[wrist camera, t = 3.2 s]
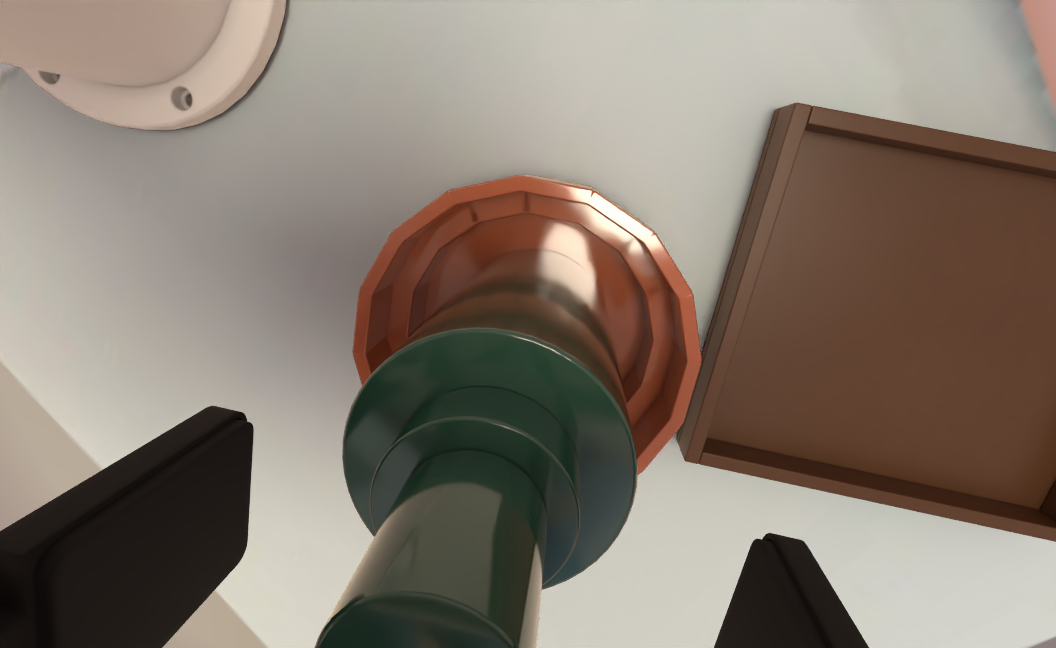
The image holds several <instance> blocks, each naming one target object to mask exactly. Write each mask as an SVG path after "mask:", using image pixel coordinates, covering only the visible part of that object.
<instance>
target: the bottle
mask: <svg viewBox="0 0 1056 648" xmlns="http://www.w3.org/2000/svg"><path fill="white" fill-rule="evenodd" d="M342 458H343V467H344V475H345V479H346V483H347V487H348V491H349V493H350V496H351V498H352V501H353V503H354V506H355V508H356V510H357V512H358V513H359V515H360V517H361V519H362V521H363V522H364V524H365V525H366V527H367V528H368V529H369V531H370V532H371V533H372V535H373V536H374V539H373V541H372V543H371V544H370V546H369V548H368V550H367V551H366V553H365V555H364V557H363V559H362V560H361V562H360V564H359V566H358V567H357V569H356V571H355V573H354V575H353V576H352V578H351V580H350V582H349V583H348V585H347V587H346V589H345V591H344V592H343V594H342V596H341V598H340V599H339V601H338V603H337V605H336V607H335V608H334V610H333V612H332V614H331V615H330V617H329V619H328V621H327V623H326V624H325V626H324V628H323V630H322V631H321V633H320V635H319V637H318V640H317V642H316V645H315V648H536V646H537V634H538V623H539V612H540V601H541V590H542V589H546V588H549V587H552V586H555V585H557V584H559V583H562V582H564V581H567V580H569V579H570V578H572V577H574V576H576V575H577V574H579V573H581V572H582V571H584V570H585V569H586V568H588V567H589V566H590V565H592V564H593V563H594V562H596V561H597V560H598V559H599V558H600V557H601V556H602V555H603V554H604V553H605V552H606V551H607V550H608V548H609V547H610V546H611V544H612V543H613V542H614V541H615V539H616V538H617V537H618V535H619V533H620V532H621V530H622V528H623V526H624V524H625V523H626V521H627V519H628V516H629V513H630V511H631V508H632V505H633V502H634V497H635V492H636V488H637V474H638V465H637V454H636V447H635V442H634V438H633V433H632V428H631V423H630V418H629V413H628V409H627V404H626V399H625V394H624V389H623V384H622V380H621V375H620V370H619V365H618V360H617V355H616V351H615V346H614V341H613V336H612V331H611V326H610V322H609V317H608V312H607V308H606V304H605V300H604V298H603V295H602V293H601V291H600V289H599V287H598V285H597V283H596V282H595V281H594V279H593V278H592V277H591V275H590V274H589V273H588V272H587V271H586V270H585V269H584V268H582V267H581V266H580V265H579V264H577V263H576V262H575V261H573V260H571V259H569V258H568V257H566V256H563V255H561V254H559V253H556V252H552V251H549V250H542V249H521V250H515V251H511V252H508V253H505V254H503V255H500V256H498V257H496V258H494V259H493V260H491V261H489V262H488V263H487V264H486V265H484V266H483V267H482V268H481V269H480V270H479V271H478V272H476V273H475V274H474V275H473V276H472V277H471V278H470V279H469V280H468V281H467V282H466V283H465V284H464V285H463V286H462V287H461V288H460V289H459V290H458V291H457V292H456V293H455V294H454V295H453V296H451V297H450V298H449V299H448V300H447V301H446V302H445V303H444V304H443V305H442V306H441V307H440V308H439V309H438V310H437V311H436V312H435V313H434V314H433V315H432V316H431V317H430V318H429V319H427V320H426V321H425V322H424V323H423V324H422V325H421V326H420V327H419V328H418V329H417V330H416V331H415V332H414V333H413V334H412V335H411V336H410V337H409V338H408V339H407V340H406V341H405V342H404V343H402V344H401V345H400V346H399V347H398V348H397V349H396V350H395V351H394V352H393V353H392V354H391V355H390V356H389V357H388V358H387V359H386V360H385V361H384V362H383V363H382V364H381V365H380V366H379V367H378V368H377V369H376V370H375V371H374V372H373V373H372V374H371V375H370V376H369V378H368V379H367V380H366V382H365V383H364V385H363V386H362V387H361V389H360V390H359V392H358V394H357V396H356V398H355V400H354V402H353V404H352V406H351V409H350V412H349V415H348V418H347V421H346V425H345V431H344V436H343V457H342Z"/></svg>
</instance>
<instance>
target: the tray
mask: <svg viewBox="0 0 1056 648" xmlns="http://www.w3.org/2000/svg"><path fill="white" fill-rule="evenodd" d="M701 358H702V360H701V366H700V369H699V373H698V376H697V379H696V383H695V386H694V389H693V393H692V396H691V399H690V403H689V406H688V409H687V412H686V416H685V419H684V422H683V424H682V426H681V427H680V429H679V432H678V435H677V441H678V443H679V447H680V450H681V452H682V455H683V458H684V460H685V461H687V462H691V463H696V464H698V463H699V464H701V465H706V466H710V467H715V468H719V469H724V470H729V471H733V472H738V473H742V474H747V475H752V476H756V477H761V478H765V479H770V480H775V481H779V482H784V483H788V484H793V485H798V486H802V487H807V488H811V489H816V490H821V491H825V492H830V493H834V494H839V495H844V496H848V497H853V498H857V499H862V500H867V501H871V502H876V503H880V504H885V505H890V506H894V507H899V508H903V509H908V510H913V511H917V512H922V513H927V514H931V515H936V516H940V517H945V518H950V519H954V520H959V521H963V522H968V523H973V524H977V525H982V526H986V527H991V528H996V529H1000V530H1005V531H1009V532H1014V533H1019V534H1023V535H1028V536H1032V537H1037V538H1042V539H1046V540H1051V541H1055V542H1056V152H1052V151H1047V150H1041V149H1036V148H1031V147H1026V146H1021V145H1015V144H1010V143H1005V142H1000V141H994V140H989V139H984V138H979V137H974V136H968V135H963V134H958V133H953V132H948V131H942V130H937V129H932V128H927V127H921V126H916V125H911V124H906V123H901V122H895V121H890V120H885V119H880V118H874V117H869V116H864V115H859V114H854V113H848V112H843V111H838V110H833V109H828V108H822V107H817V106H811V105H807V104H801V103H794V104H791V105H788V106H785V107H782V108H779V109H776V110H775V113H774V117H773V120H772V123H771V127H770V130H769V133H768V137H767V140H766V143H765V146H764V150H763V153H762V156H761V160H760V163H759V166H758V170H757V173H756V176H755V180H754V183H753V186H752V190H751V193H750V196H749V200H748V203H747V206H746V210H745V213H744V216H743V220H742V223H741V226H740V229H739V233H738V236H737V239H736V243H735V246H734V249H733V253H732V256H731V259H730V263H729V266H728V269H727V273H726V276H725V279H724V283H723V286H722V289H721V293H720V296H719V299H718V303H717V306H716V309H715V312H714V316H713V319H712V322H711V326H710V329H709V332H708V336H707V339H706V342H705V346H704V349H703V352H702V356H701Z"/></svg>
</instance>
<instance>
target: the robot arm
mask: <svg viewBox="0 0 1056 648" xmlns="http://www.w3.org/2000/svg"><path fill="white" fill-rule="evenodd" d="M285 7H286V0H0V63H3V64H9V65H14V66H19V67H21V68H22V69H23V70H24V71H25V72H26V73H27V74H28V75H29V76H30V77H31V78H32V79H33V80H34V81H35V82H36V83H37V84H38V85H39V86H40V87H42V88H43V89H44V90H46V91H47V92H48V93H50V94H51V95H52V96H54V97H55V98H56V99H58V100H59V101H60V102H62V103H63V104H65V105H67V106H69V107H71V108H73V109H75V110H76V111H78V112H80V113H82V114H84V115H86V116H88V117H90V118H93V119H96V120H100V121H103V122H106V123H109V124H113V125H116V126H120V127H128V128H136V129H144V130H175V129H179V128H184V127H188V126H192V125H196V124H200V123H202V122H204V121H206V120H208V119H210V118H213V117H215V116H217V115H219V114H221V113H223V112H224V111H226V110H227V109H228V108H229V107H230V106H232V105H233V104H234V103H235V102H236V101H238V100H239V99H240V98H241V97H243V96H244V95H245V94H246V93H247V91H248V90H249V89H250V87H251V86H252V85H253V84H254V82H255V81H256V80H257V78H258V77H259V76H260V75H261V73H262V72H263V70H264V68H265V66H266V64H267V62H268V60H269V58H270V56H271V54H272V52H273V50H274V48H275V46H276V44H277V40H278V36H279V33H280V29H281V25H282V22H283V18H284V15H285ZM253 432H254V431H253V425H252V424H251V423H250V422H247V418H246V416H245V414H244V413H242V412H238V411H234V410H230V409H225V408H221V407H216V406H210V407H207V408H205V409H204V410H202V411H200V412H199V413H197V414H195V415H194V416H192V417H190V418H189V419H187V420H185V421H183V422H182V423H180V424H178V425H177V426H175V427H173V428H172V429H170V430H168V431H167V432H165V433H163V434H162V435H160V436H158V437H157V438H155V439H153V440H152V441H150V442H148V443H147V444H145V445H143V446H142V447H140V448H138V449H137V450H135V451H133V452H132V453H130V454H128V455H127V456H125V457H123V458H122V459H120V460H118V461H117V462H115V463H113V464H112V465H110V466H108V467H107V468H105V469H103V470H102V471H100V472H98V473H97V474H96V475H94V476H92V477H90V478H88V479H87V480H85V481H83V482H82V483H80V484H78V485H77V486H75V487H74V488H72V489H70V490H68V491H67V492H65V493H63V494H62V495H60V496H59V497H57V498H55V499H53V500H52V501H50V502H48V503H47V504H45V505H43V506H42V507H40V508H39V509H37V510H35V511H33V512H32V513H30V514H28V515H27V516H25V517H23V518H22V519H20V520H18V521H17V522H15V523H13V524H12V525H10V526H8V527H7V528H5V529H3V530H2V531H0V648H162V647H163V646H164V645H165V644H166V643H167V642H168V641H169V640H170V638H171V637H172V636H173V635H174V634H175V633H176V632H177V631H178V630H179V628H180V627H181V626H182V625H183V624H184V623H185V622H186V621H187V620H188V619H189V618H190V616H191V615H192V614H193V613H194V612H195V611H196V610H197V609H198V608H199V606H200V605H201V604H202V603H203V602H204V601H205V600H206V599H207V598H208V597H209V595H210V594H211V593H212V592H213V591H214V590H215V589H216V588H217V587H218V586H219V584H220V583H221V582H222V581H223V580H224V579H225V578H226V577H227V576H228V574H229V573H230V572H231V571H232V570H233V569H234V568H235V567H236V566H237V564H238V563H239V562H240V560H241V559H242V557H243V555H244V553H245V550H246V547H247V541H248V523H249V504H250V486H251V468H252V450H253ZM714 648H869V647H868V645H867V644H866V642H865V640H864V639H863V637H862V635H861V634H860V632H859V630H858V629H857V627H856V625H855V624H854V622H853V621H852V619H851V617H850V616H849V614H848V612H847V611H846V609H845V607H844V606H843V604H842V602H841V601H840V599H839V597H838V596H837V594H836V592H835V591H834V589H833V588H832V586H831V584H830V583H829V581H828V579H827V578H826V576H825V574H824V573H823V571H822V569H821V568H820V566H819V564H818V563H817V561H816V560H815V558H814V556H813V555H812V553H811V551H810V550H809V548H808V546H807V545H806V544H805V542H804V541H802V540H799V539H794V538H790V537H785V536H781V535H777V534H772V533H768V534H766V535H765V536H764V537H763V539H762V540H761V539H755V540H754V541H753V543H752V545H751V547H750V550H749V553H748V555H747V558H746V561H745V564H744V566H743V569H742V572H741V575H740V577H739V580H738V583H737V586H736V588H735V591H734V594H733V597H732V599H731V602H730V605H729V608H728V610H727V613H726V616H725V619H724V621H723V624H722V627H721V630H720V632H719V635H718V638H717V641H716V643H715V646H714Z"/></svg>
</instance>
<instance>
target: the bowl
mask: <svg viewBox="0 0 1056 648" xmlns="http://www.w3.org/2000/svg"><path fill="white" fill-rule="evenodd" d="M521 249H542V250H549V251H552V252H556V253H559V254H561V255H563V256H566V257H568V258H569V259H571V260H573V261H575V262H576V263H577V264H579V265H580V266H581V267H582V268H584V269H585V270H586V271H587V272H588V273H589V274H590V275H591V277H592V278H593V279H594V281H595V282H596V283H597V285H598V287H599V289H600V291H601V293H602V295H603V298H604V300H605V304H606V308H607V312H608V317H609V322H610V326H611V331H612V336H613V341H614V346H615V351H616V355H617V360H618V365H619V370H620V375H621V380H622V384H623V389H624V394H625V399H626V404H627V409H628V413H629V418H630V423H631V428H632V433H633V438H634V442H635V447H636V454H637V465H638V474H637V475H639V474H640V473H641V472H643V471H644V469H645V468H646V467H647V466H648V465H649V464H650V462H651V461H652V460H653V459H654V458H655V456H656V455H657V454H658V453H659V452H660V451H661V449H662V448H663V447H664V446H665V445H666V443H667V442H668V441H669V440H670V439H671V438H672V436H673V435H674V434H675V433H676V432H677V431H678V429H679V428H680V427H681V426H682V424H683V422H684V419H685V416H686V412H687V409H688V406H689V403H690V399H691V396H692V393H693V389H694V386H695V383H696V379H697V376H698V373H699V369H700V366H701V360H702V358H701V350H700V343H699V335H698V327H697V320H696V312H695V304H694V297H693V294H692V291H691V289H690V288H689V286H688V284H687V283H686V281H685V279H684V278H683V276H682V275H681V273H680V271H679V270H678V268H677V266H676V265H675V263H674V262H673V260H672V258H671V257H670V255H669V253H668V252H667V250H666V249H665V247H664V245H663V244H662V242H661V240H660V239H659V237H658V236H657V234H656V233H655V232H654V231H653V230H652V229H650V228H649V227H648V226H646V225H645V224H644V223H643V222H641V221H640V220H639V219H637V218H636V217H634V216H633V215H631V214H630V213H628V212H627V211H626V210H624V209H623V208H621V207H620V206H618V205H617V204H615V203H614V202H613V201H611V200H610V199H608V198H607V197H605V196H604V195H602V194H601V193H600V192H598V191H597V190H595V189H594V188H592V187H590V186H586V185H581V184H576V183H571V182H566V181H561V180H556V179H551V178H546V177H541V176H536V175H518V176H513V177H508V178H504V179H499V180H494V181H490V182H485V183H480V184H476V185H471V186H466V187H462V188H457V189H452V190H450V191H447V192H446V193H444V194H443V195H441V196H440V197H439V198H437V199H436V200H435V201H433V202H432V203H430V204H429V205H428V206H426V207H425V208H424V209H422V210H421V211H419V212H418V213H417V214H415V215H414V216H413V217H411V218H410V219H408V220H407V221H406V222H404V223H403V224H402V225H400V226H399V227H397V228H396V229H395V230H393V232H392V233H391V234H390V236H389V238H388V239H387V241H386V243H385V245H384V246H383V248H382V250H381V252H380V253H379V255H378V257H377V259H376V261H375V262H374V264H373V266H372V268H371V269H370V271H369V273H368V275H367V276H366V278H365V280H364V282H363V283H362V285H361V287H360V290H359V295H358V305H357V314H356V324H355V334H354V343H353V357H354V360H355V363H356V367H357V370H358V373H359V377H360V380H361V383H362V386H363V385H364V383H365V382H366V380H367V379H368V378H369V376H370V375H371V374H372V373H373V372H374V371H375V370H376V369H377V368H378V367H379V366H380V365H381V364H382V363H383V362H384V361H385V360H386V359H387V358H388V357H389V356H390V355H391V354H392V353H393V352H394V351H395V350H396V349H397V348H398V347H399V346H400V345H401V344H402V343H404V342H405V341H406V340H407V339H408V338H409V337H410V336H411V335H412V334H413V333H414V332H415V331H416V330H417V329H418V328H419V327H420V326H421V325H422V324H423V323H424V322H425V321H426V320H427V319H429V318H430V317H431V316H432V315H433V314H434V313H435V312H436V311H437V310H438V309H439V308H440V307H441V306H442V305H443V304H444V303H445V302H446V301H447V300H448V299H449V298H450V297H451V296H453V295H454V294H455V293H456V292H457V291H458V290H459V289H460V288H461V287H462V286H463V285H464V284H465V283H466V282H467V281H468V280H469V279H470V278H471V277H472V276H473V275H474V274H475V273H476V272H478V271H479V270H480V269H481V268H482V267H483V266H484V265H486V264H487V263H488V262H489V261H491V260H493V259H494V258H496V257H498V256H500V255H503V254H505V253H508V252H511V251H515V250H521Z"/></svg>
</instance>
